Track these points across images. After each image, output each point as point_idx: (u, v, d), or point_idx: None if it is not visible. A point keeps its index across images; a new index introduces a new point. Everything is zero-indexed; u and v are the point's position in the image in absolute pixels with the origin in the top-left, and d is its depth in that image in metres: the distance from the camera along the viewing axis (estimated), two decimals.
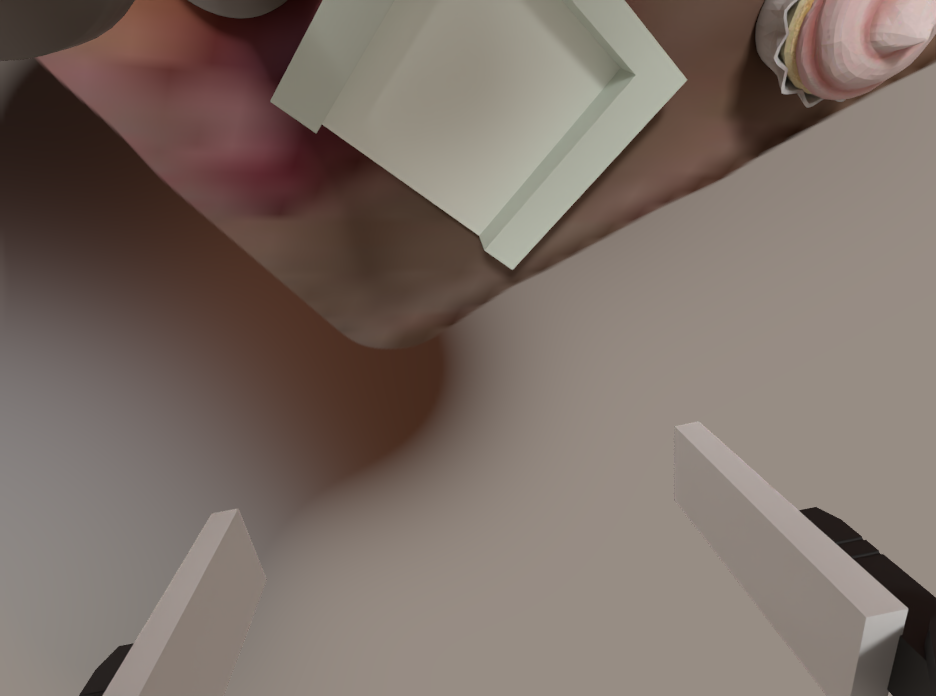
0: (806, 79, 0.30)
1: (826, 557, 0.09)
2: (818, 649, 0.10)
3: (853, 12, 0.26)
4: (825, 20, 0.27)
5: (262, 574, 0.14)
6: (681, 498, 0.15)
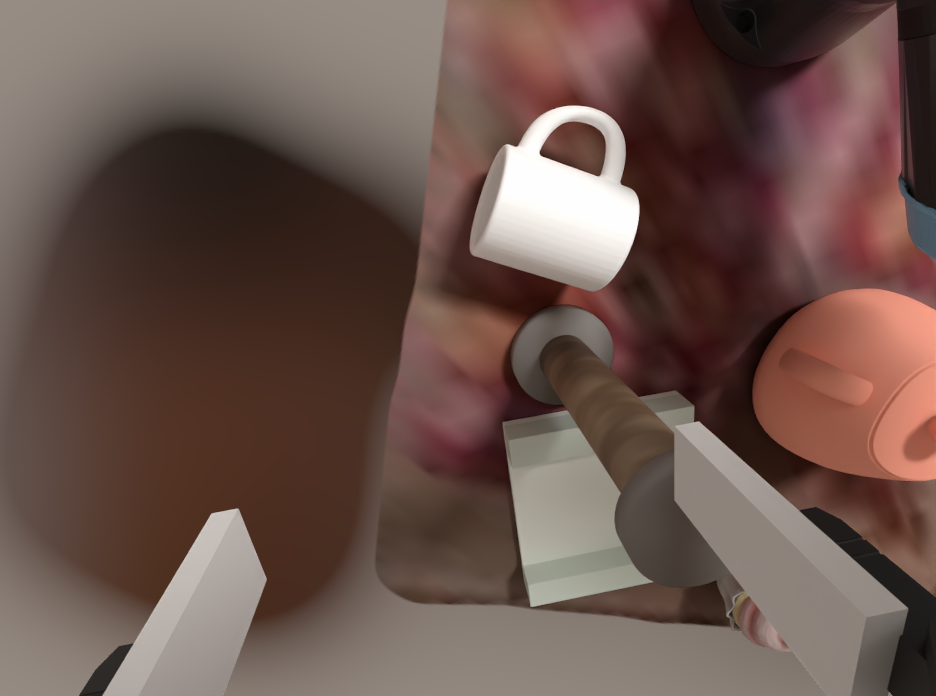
0: (742, 621, 0.50)
1: (826, 557, 0.09)
2: (818, 649, 0.10)
3: None
4: None
5: (262, 574, 0.14)
6: (681, 498, 0.15)
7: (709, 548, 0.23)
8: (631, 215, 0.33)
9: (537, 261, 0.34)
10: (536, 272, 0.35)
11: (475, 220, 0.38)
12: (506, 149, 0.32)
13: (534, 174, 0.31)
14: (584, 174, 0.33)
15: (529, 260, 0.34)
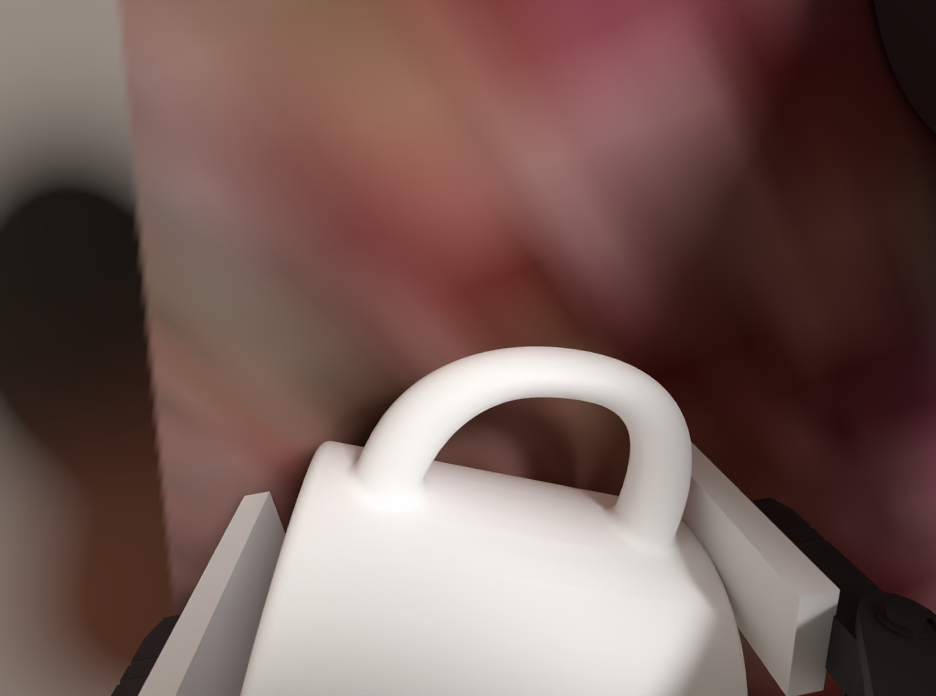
0: None
1: (770, 543, 0.10)
2: (763, 631, 0.10)
3: None
4: None
5: None
6: None
7: None
8: None
9: None
10: None
11: None
12: (288, 530, 0.09)
13: (371, 659, 0.08)
14: (563, 566, 0.10)
15: None
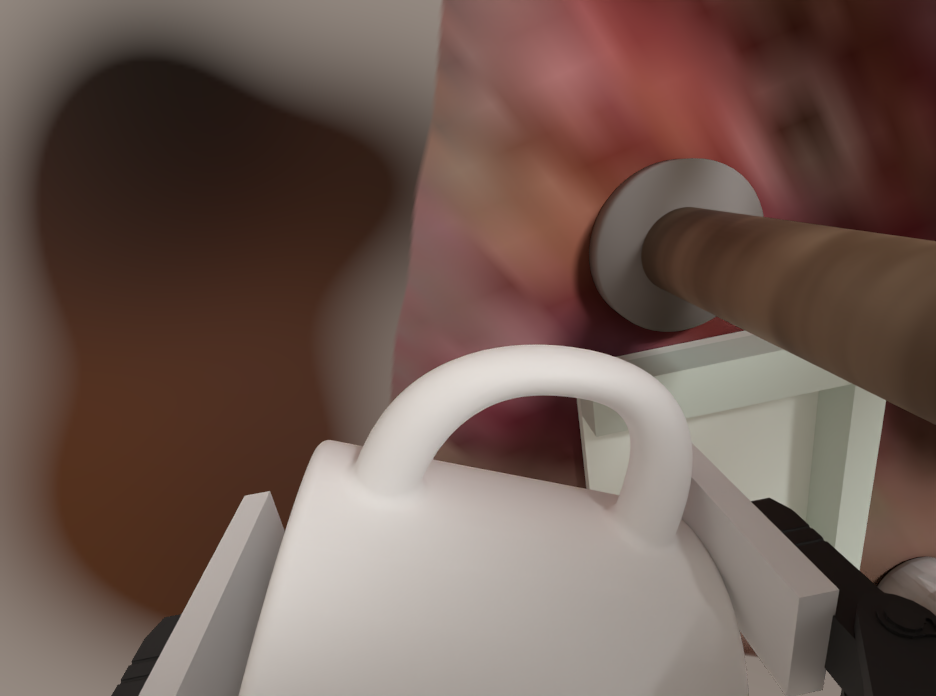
0: None
1: (769, 543, 0.10)
2: (763, 631, 0.10)
3: None
4: None
5: None
6: None
7: None
8: None
9: None
10: None
11: None
12: (287, 529, 0.09)
13: (371, 659, 0.08)
14: (564, 565, 0.10)
15: None
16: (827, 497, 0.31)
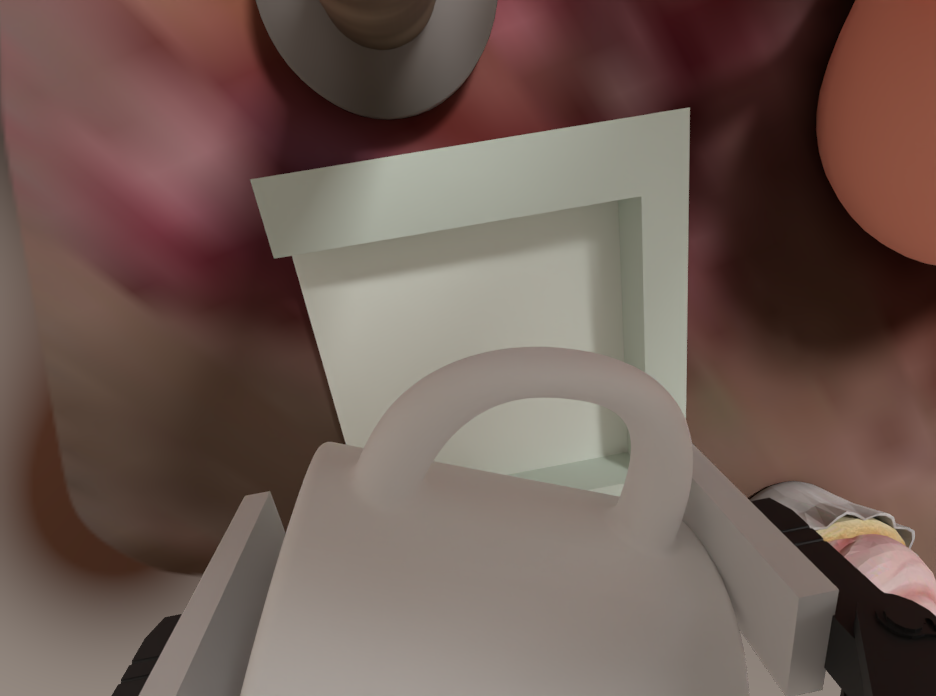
0: None
1: (769, 543, 0.10)
2: (763, 630, 0.10)
3: None
4: None
5: None
6: None
7: None
8: None
9: None
10: None
11: None
12: (287, 532, 0.09)
13: (372, 661, 0.08)
14: (564, 567, 0.10)
15: None
16: None
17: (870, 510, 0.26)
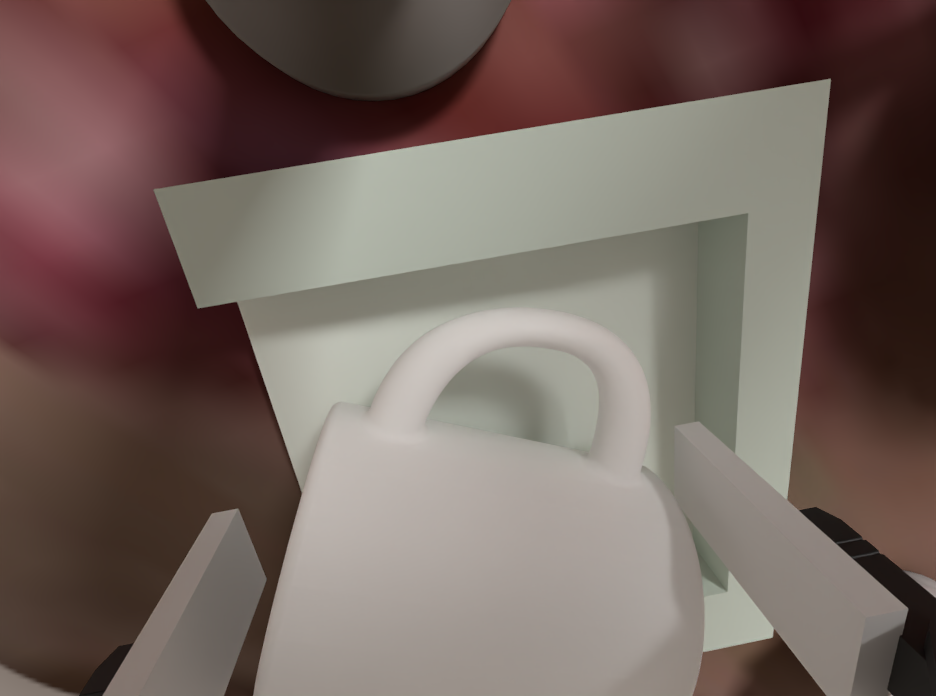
0: None
1: (826, 557, 0.09)
2: (818, 649, 0.10)
3: None
4: None
5: (262, 574, 0.14)
6: (681, 498, 0.15)
7: None
8: (684, 619, 0.11)
9: None
10: None
11: None
12: (315, 454, 0.11)
13: (388, 551, 0.10)
14: (545, 490, 0.12)
15: None
16: None
17: None
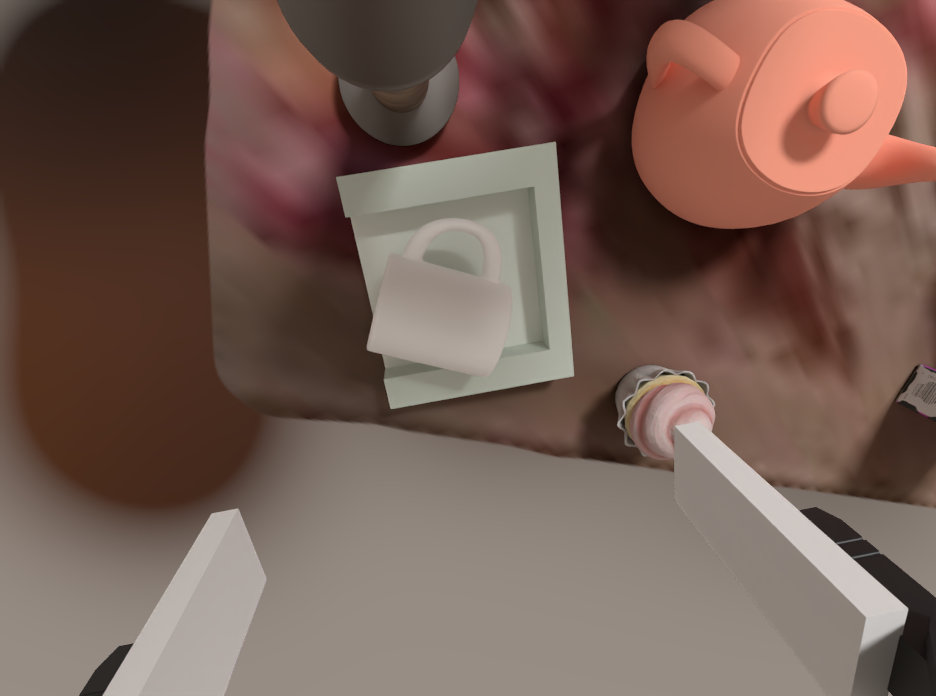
0: (632, 426, 0.43)
1: (826, 557, 0.09)
2: (818, 649, 0.10)
3: (669, 406, 0.41)
4: (655, 400, 0.42)
5: (262, 574, 0.14)
6: (681, 498, 0.15)
7: (398, 11, 0.16)
8: (503, 313, 0.36)
9: (422, 356, 0.37)
10: (426, 364, 0.38)
11: None
12: (388, 259, 0.36)
13: (411, 283, 0.35)
14: (461, 277, 0.37)
15: (415, 355, 0.37)
16: (541, 290, 0.42)
17: (681, 371, 0.44)
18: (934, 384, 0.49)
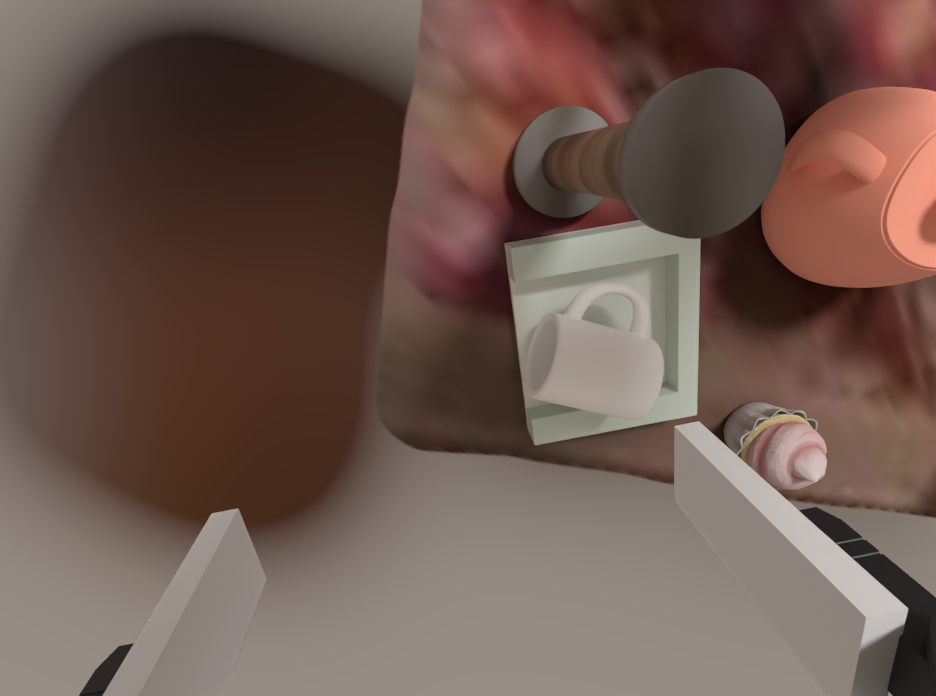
0: (751, 460, 0.49)
1: (826, 557, 0.09)
2: (818, 649, 0.10)
3: (789, 444, 0.46)
4: (775, 438, 0.47)
5: (262, 574, 0.14)
6: (681, 498, 0.15)
7: (718, 187, 0.22)
8: (658, 368, 0.41)
9: (584, 404, 0.42)
10: (582, 409, 0.44)
11: (528, 363, 0.46)
12: (558, 321, 0.41)
13: (582, 342, 0.40)
14: (618, 335, 0.42)
15: (578, 403, 0.42)
16: (673, 340, 0.47)
17: (793, 410, 0.49)
18: None
